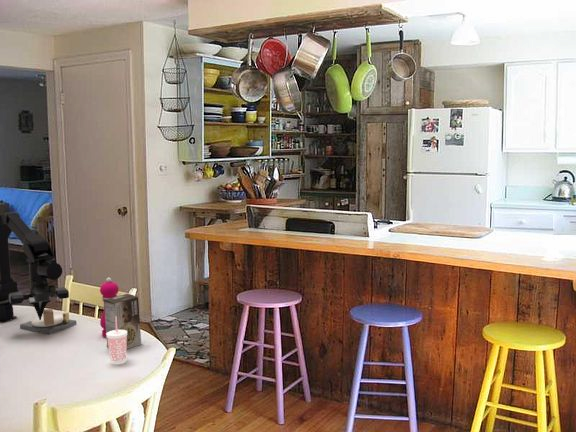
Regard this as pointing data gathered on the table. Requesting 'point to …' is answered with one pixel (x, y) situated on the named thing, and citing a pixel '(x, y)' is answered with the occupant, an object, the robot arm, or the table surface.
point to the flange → (47, 319)
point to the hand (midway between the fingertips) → (40, 319)
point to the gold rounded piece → (65, 318)
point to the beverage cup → (117, 345)
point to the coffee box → (124, 317)
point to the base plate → (47, 329)
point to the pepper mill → (108, 292)
